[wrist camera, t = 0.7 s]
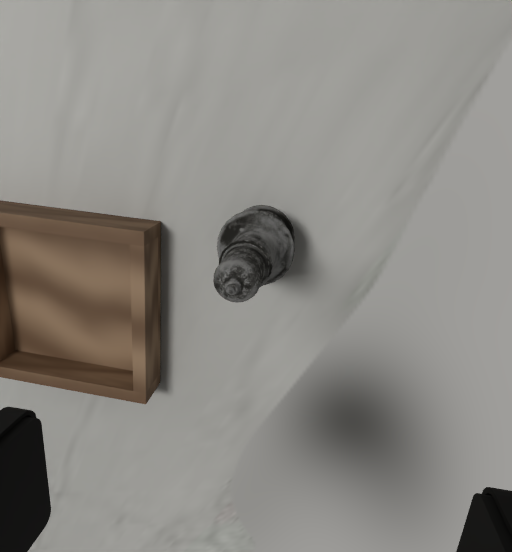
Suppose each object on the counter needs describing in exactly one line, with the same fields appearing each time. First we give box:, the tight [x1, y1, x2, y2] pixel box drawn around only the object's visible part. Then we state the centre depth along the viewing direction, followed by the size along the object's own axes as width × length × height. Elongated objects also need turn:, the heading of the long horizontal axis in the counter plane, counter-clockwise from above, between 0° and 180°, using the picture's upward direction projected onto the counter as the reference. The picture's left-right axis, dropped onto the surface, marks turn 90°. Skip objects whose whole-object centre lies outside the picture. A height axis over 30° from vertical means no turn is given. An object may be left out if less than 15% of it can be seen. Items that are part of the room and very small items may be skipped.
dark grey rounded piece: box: [214, 205, 294, 302], centre depth 29 cm, size 6×6×12 cm
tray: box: [0, 201, 161, 404], centre depth 38 cm, size 16×16×4 cm
